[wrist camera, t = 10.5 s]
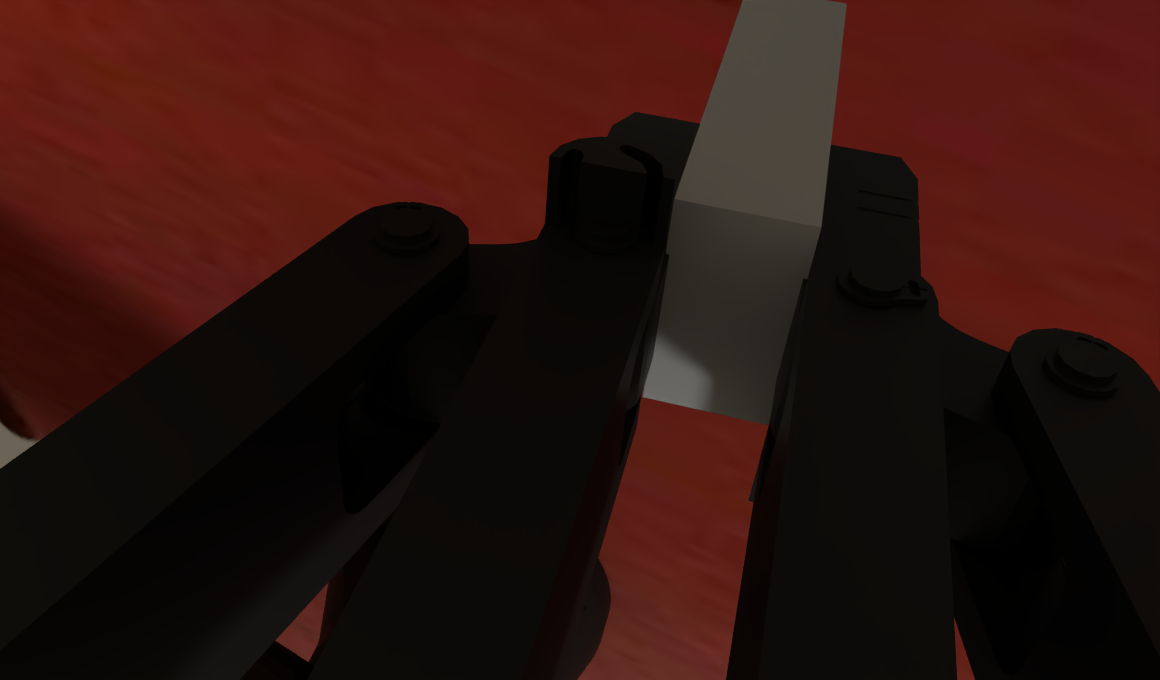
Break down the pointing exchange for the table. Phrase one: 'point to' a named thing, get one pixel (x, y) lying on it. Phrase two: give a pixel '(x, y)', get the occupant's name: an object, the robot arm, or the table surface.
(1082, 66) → the table surface
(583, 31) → the table surface
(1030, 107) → the table surface
